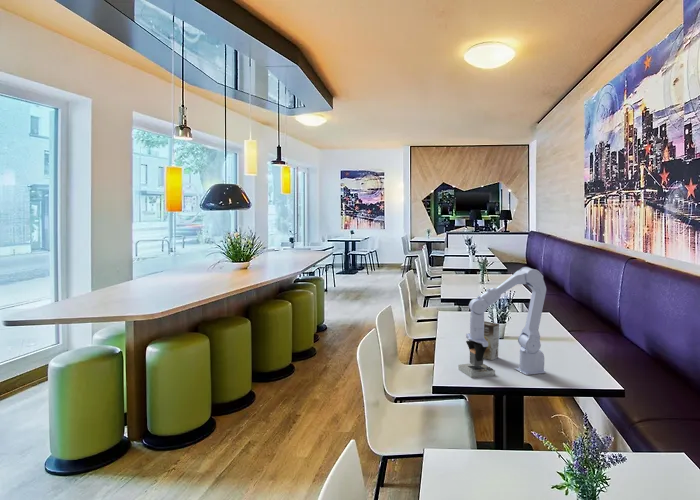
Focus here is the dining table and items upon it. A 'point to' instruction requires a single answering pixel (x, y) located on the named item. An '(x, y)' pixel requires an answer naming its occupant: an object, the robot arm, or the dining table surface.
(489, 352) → the coffee box
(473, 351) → the plug
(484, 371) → the socket plate
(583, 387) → the dining table surface
